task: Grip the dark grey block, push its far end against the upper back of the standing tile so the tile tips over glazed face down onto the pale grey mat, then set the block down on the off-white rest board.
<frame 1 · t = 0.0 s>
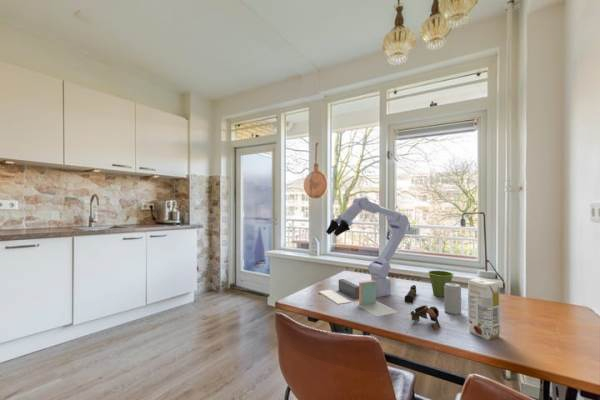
hand: (331, 233, 135), 32 cm above the table, tool tilted 50°, fingers open, 7 cm apart
beverage can: (452, 312, 120), on the table
tile: (367, 303, 130), resting on mat
mat: (375, 308, 125), on the table
hand tool: (410, 298, 140), on the table
tool rest: (333, 297, 139), on the table
juice carton: (483, 335, 100), on the table
plant pot: (440, 295, 144), on the table
brown toy animal: (427, 325, 108), on the table
dark grey block: (349, 294, 145), on the table
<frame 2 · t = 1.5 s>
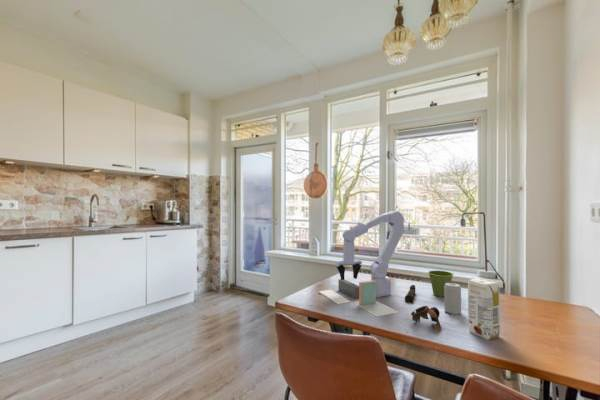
hand: (348, 279, 145), 8 cm above the table, tool pointing down, fingers open, 7 cm apart
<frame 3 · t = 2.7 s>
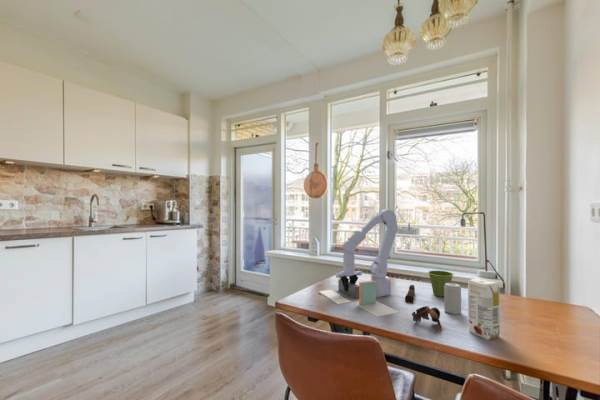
hand: (348, 290, 145), 2 cm above the table, tool pointing down, fingers closed on dark grey block, 3 cm apart
dark grey block: (348, 294, 145), on the table, touching gripper
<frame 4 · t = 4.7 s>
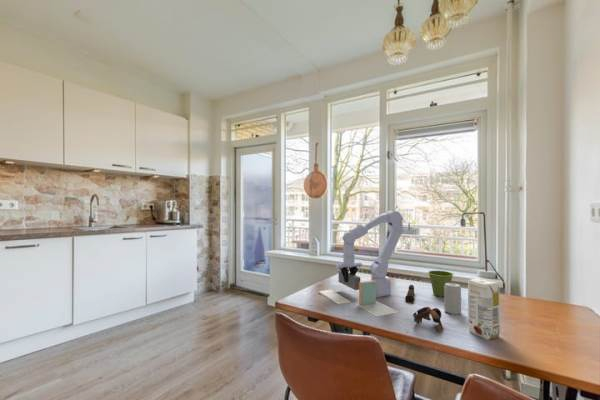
hand: (348, 281, 145), 6 cm above the table, tool pointing down, fingers closed on dark grey block, 3 cm apart
dark grey block: (348, 285, 145), point 4 cm above the table, touching gripper
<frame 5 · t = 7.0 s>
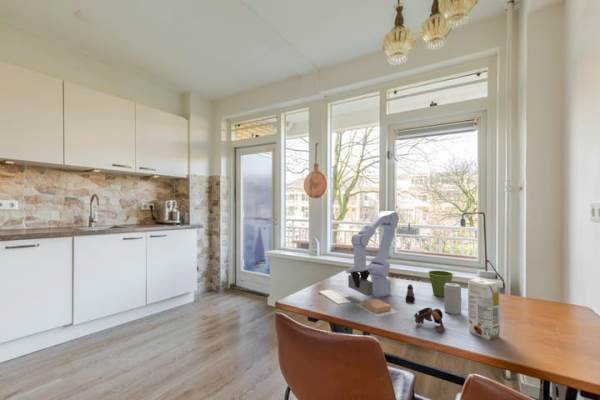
hand: (359, 286, 136), 6 cm above the table, tool pointing down, fingers closed on dark grey block, 3 cm apart
tile: (369, 301, 129), point 2 cm above the table, tilted 90°, touching mat
dark grey block: (360, 290, 136), point 4 cm above the table, touching gripper
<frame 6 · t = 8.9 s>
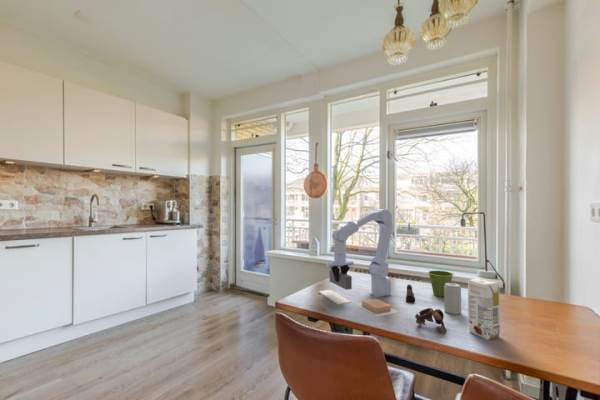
hand: (339, 281, 138), 9 cm above the table, tool pointing down, fingers closed on dark grey block, 3 cm apart
dark grey block: (340, 285, 138), point 7 cm above the table, touching gripper
when the fingers open (4 cm above the table, at t = 10.3 s): dark grey block drops 2 cm, resting on tool rest.
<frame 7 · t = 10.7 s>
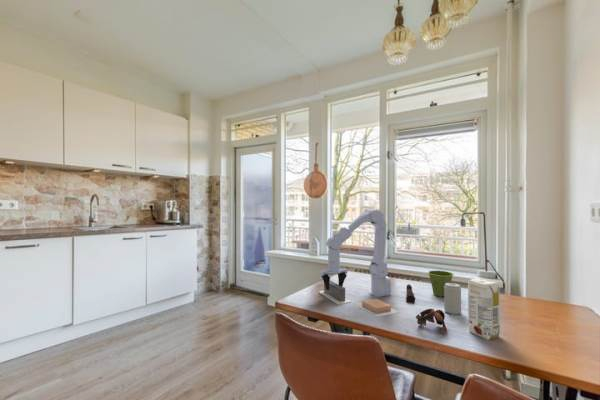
hand: (333, 288, 139), 4 cm above the table, tool pointing down, fingers open, 7 cm apart
dark grey block: (334, 296, 139), point 1 cm above the table, touching tool rest
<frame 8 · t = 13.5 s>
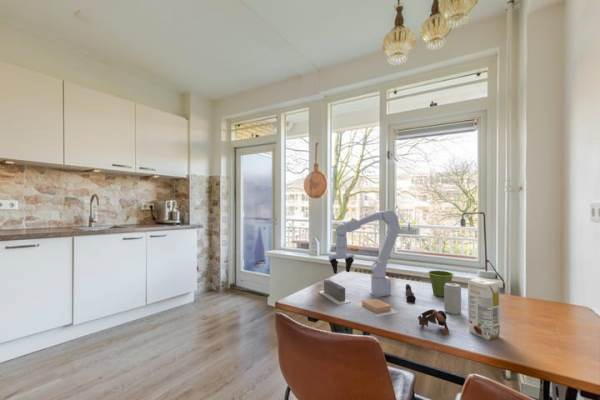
hand: (341, 272, 148), 10 cm above the table, tool pointing down, fingers open, 7 cm apart
at the end: tile tilted 90°; tile inside the target area (4.8 cm from its centre), point 1.5 cm above the table; dark grey block inside the target area (0.1 cm from its centre), point 0.8 cm above the table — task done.
